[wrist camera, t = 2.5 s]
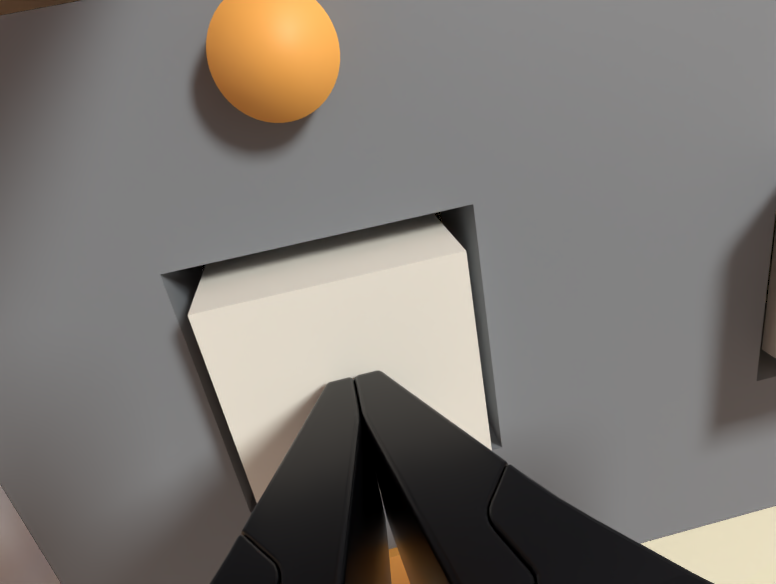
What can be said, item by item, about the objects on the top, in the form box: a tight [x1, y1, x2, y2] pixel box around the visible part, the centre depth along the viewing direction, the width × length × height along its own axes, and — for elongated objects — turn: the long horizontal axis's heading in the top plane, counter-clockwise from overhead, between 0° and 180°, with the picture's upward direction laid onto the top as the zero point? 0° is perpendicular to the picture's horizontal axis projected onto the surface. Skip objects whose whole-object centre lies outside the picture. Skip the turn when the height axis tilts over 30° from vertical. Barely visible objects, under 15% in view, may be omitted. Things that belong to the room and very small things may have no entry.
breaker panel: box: [0, 0, 776, 584], centre depth 11 cm, size 12×22×3 cm, turn 100°
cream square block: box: [188, 213, 492, 503], centre depth 10 cm, size 4×4×2 cm
